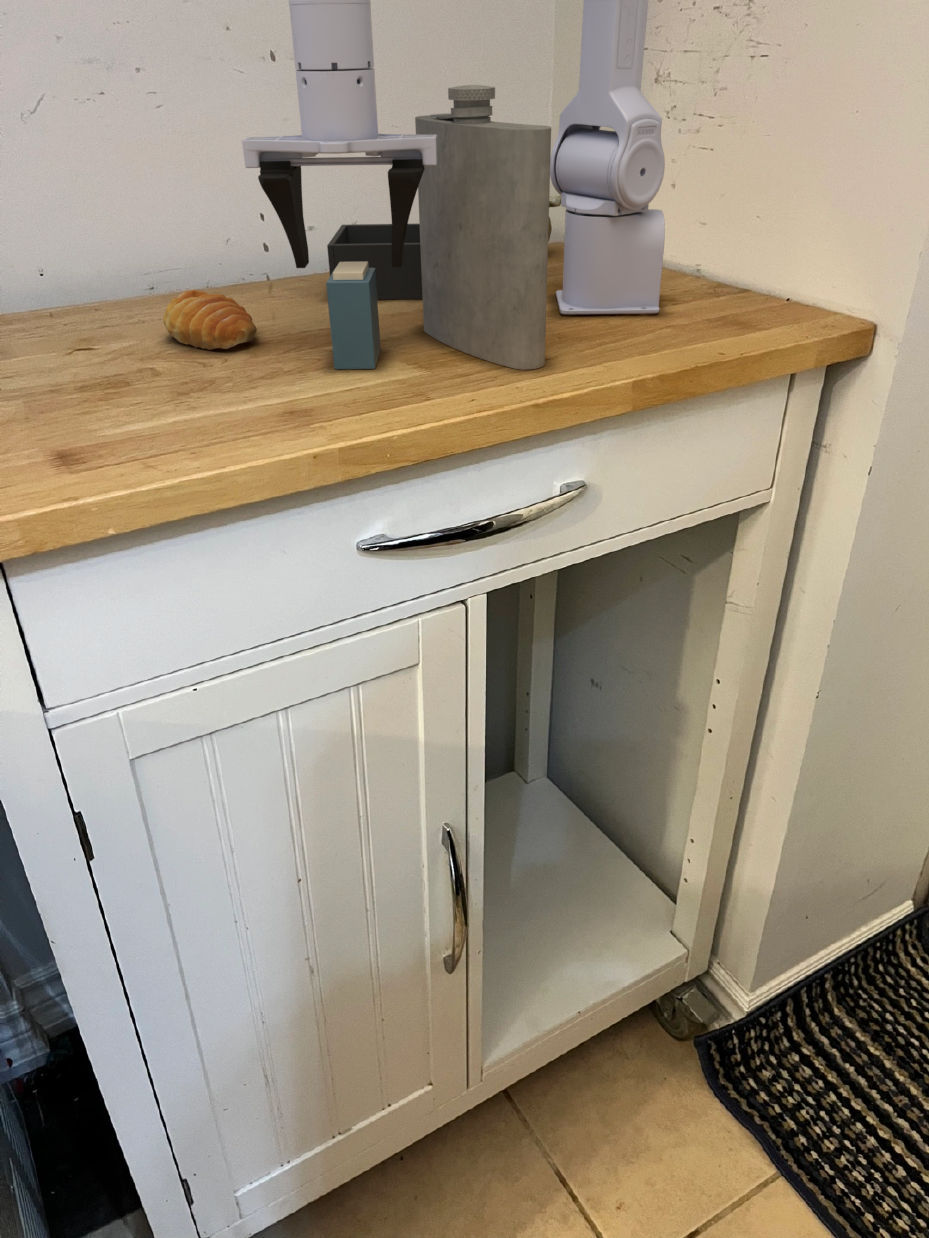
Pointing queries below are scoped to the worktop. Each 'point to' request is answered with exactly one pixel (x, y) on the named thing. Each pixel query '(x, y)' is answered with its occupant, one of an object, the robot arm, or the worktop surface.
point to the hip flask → (485, 232)
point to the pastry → (208, 320)
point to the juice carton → (354, 316)
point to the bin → (381, 257)
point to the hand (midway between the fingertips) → (350, 265)
